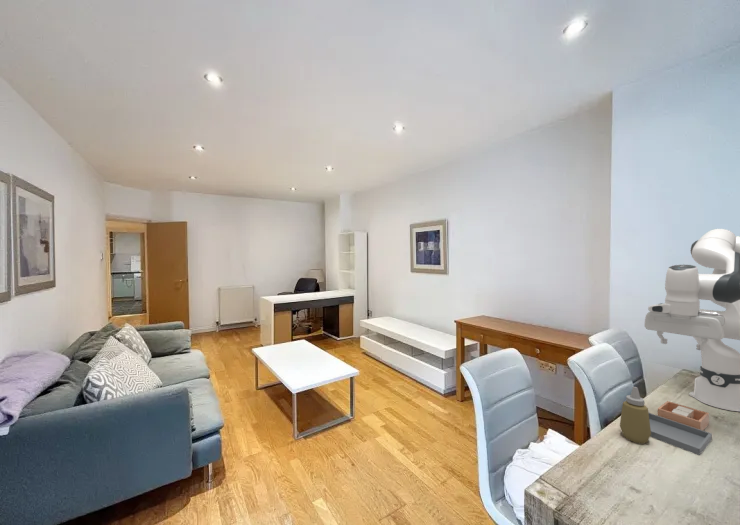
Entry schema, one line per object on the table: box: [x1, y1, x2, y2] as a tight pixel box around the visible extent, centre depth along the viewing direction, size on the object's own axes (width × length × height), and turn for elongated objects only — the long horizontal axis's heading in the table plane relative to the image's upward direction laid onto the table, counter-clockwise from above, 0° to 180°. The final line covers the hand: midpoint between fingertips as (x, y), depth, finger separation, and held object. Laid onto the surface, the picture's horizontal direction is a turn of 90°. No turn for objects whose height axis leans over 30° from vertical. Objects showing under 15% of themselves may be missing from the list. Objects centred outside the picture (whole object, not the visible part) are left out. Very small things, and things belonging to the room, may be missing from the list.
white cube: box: [675, 406, 694, 419], centre depth 114 cm, size 4×4×4 cm
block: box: [672, 409, 689, 418], centre depth 112 cm, size 4×4×4 cm
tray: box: [649, 412, 713, 456], centre depth 105 cm, size 15×17×3 cm
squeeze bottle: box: [619, 386, 651, 445], centre depth 103 cm, size 8×8×18 cm
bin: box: [657, 400, 710, 431], centre depth 113 cm, size 11×11×5 cm
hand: (681, 346), depth 111 cm, fingers open, 8 cm apart
